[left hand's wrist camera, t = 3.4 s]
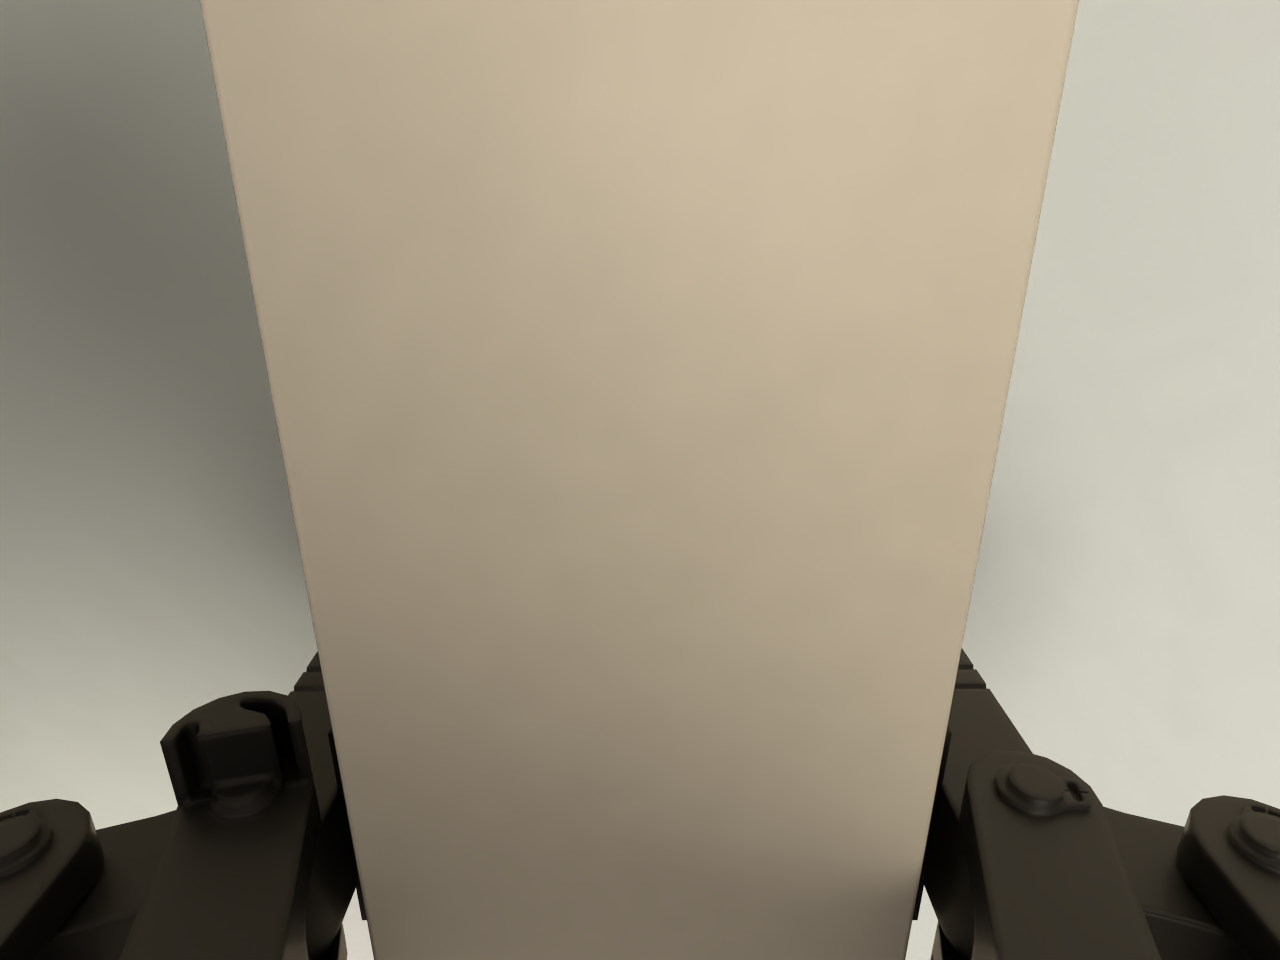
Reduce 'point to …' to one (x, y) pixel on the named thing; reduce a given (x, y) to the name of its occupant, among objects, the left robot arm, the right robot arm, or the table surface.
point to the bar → (639, 440)
